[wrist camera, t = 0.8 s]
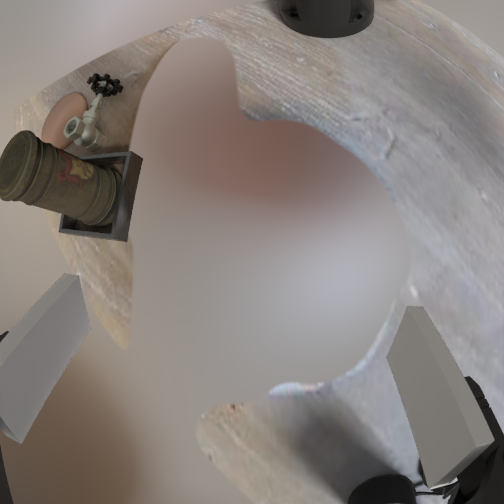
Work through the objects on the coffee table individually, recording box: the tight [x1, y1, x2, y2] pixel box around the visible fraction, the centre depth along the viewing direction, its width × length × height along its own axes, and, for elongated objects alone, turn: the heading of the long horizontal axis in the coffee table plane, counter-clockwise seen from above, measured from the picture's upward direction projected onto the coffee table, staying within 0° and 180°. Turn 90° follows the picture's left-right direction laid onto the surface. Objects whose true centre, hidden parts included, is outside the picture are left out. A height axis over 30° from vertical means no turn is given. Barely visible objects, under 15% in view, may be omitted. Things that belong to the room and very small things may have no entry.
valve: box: [64, 73, 123, 152], centre depth 43 cm, size 7×7×12 cm
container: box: [0, 130, 122, 227], centre depth 35 cm, size 9×9×18 cm
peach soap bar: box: [42, 93, 88, 150], centre depth 49 cm, size 12×12×2 cm
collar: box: [59, 151, 143, 242], centre depth 43 cm, size 12×12×3 cm
